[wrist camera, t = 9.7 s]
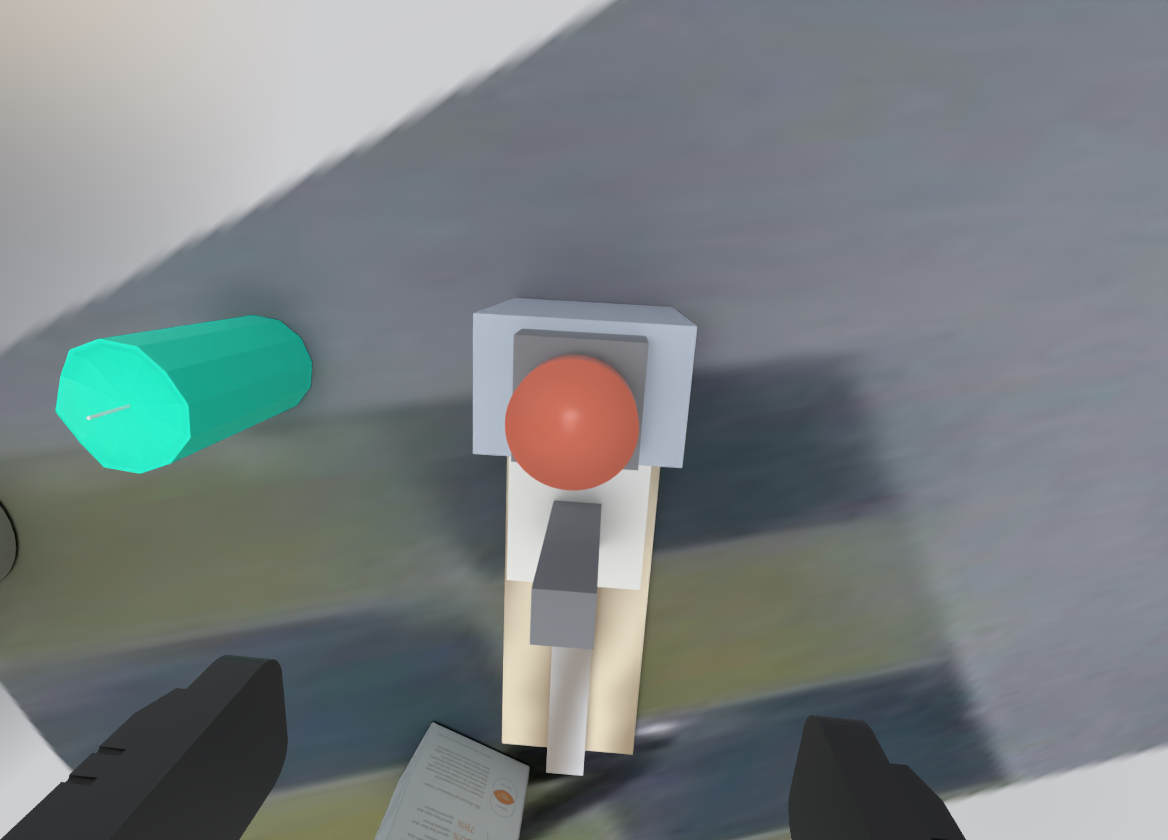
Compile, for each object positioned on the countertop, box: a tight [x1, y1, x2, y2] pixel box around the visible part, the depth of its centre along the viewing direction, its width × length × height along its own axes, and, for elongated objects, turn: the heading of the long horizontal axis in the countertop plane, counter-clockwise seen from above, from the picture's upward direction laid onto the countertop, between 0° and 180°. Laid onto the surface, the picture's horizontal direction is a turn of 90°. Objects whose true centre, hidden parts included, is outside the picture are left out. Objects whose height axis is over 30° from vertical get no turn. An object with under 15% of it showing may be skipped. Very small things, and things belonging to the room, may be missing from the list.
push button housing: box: [473, 298, 697, 470], centre depth 28 cm, size 9×6×12 cm, turn 87°
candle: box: [55, 315, 312, 474], centre depth 29 cm, size 6×6×12 cm
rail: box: [502, 456, 660, 776], centre depth 36 cm, size 9×24×4 cm, turn 177°
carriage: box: [507, 456, 651, 650], centre depth 27 cm, size 7×7×13 cm
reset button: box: [505, 355, 639, 491], centre depth 20 cm, size 4×4×3 cm
